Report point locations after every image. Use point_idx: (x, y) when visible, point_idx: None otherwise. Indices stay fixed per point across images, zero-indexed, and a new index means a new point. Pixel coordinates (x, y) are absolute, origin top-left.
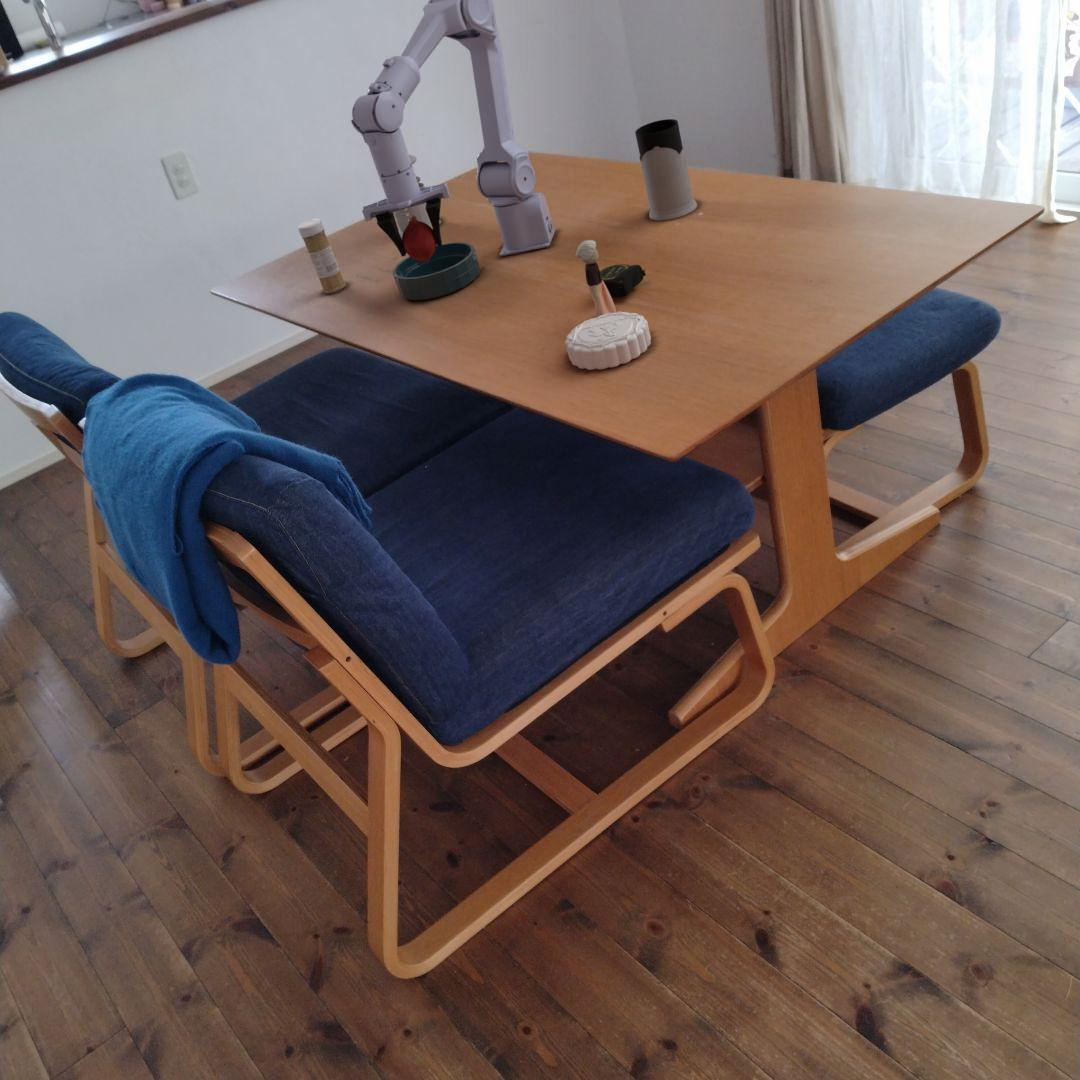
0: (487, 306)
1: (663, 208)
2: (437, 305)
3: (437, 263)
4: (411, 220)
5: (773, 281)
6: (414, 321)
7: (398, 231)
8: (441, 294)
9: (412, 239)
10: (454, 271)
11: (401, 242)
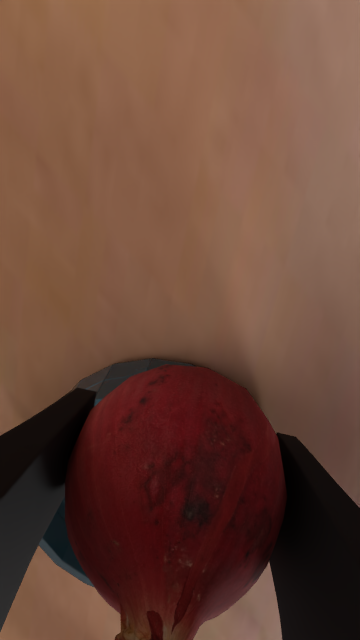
0: (64, 159)
1: None
2: (201, 319)
3: None
4: (169, 627)
5: None
6: (292, 260)
7: (284, 614)
8: (175, 362)
9: (226, 436)
10: (105, 389)
11: (286, 510)
